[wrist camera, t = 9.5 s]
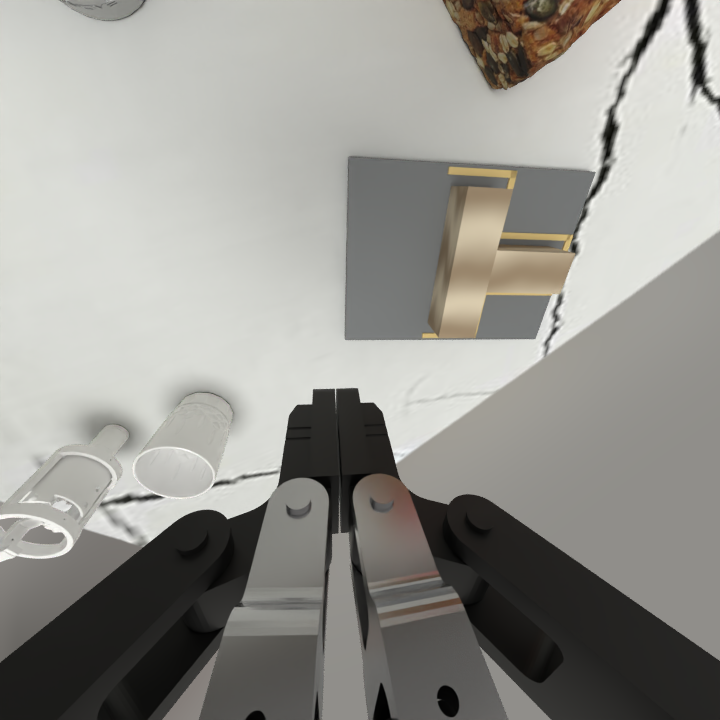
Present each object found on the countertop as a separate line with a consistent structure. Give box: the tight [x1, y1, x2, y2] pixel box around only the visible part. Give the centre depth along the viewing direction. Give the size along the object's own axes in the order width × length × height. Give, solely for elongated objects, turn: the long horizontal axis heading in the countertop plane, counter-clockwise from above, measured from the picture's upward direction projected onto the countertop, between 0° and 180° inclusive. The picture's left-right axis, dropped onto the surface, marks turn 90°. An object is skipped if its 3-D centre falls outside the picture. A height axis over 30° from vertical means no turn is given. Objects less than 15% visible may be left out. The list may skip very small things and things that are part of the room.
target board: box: [345, 157, 595, 340], centre depth 33 cm, size 18×24×1 cm
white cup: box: [132, 393, 233, 499], centre depth 36 cm, size 8×8×10 cm
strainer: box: [0, 424, 129, 562], centre depth 34 cm, size 7×7×15 cm
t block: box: [428, 186, 575, 338], centre depth 31 cm, size 14×12×4 cm
